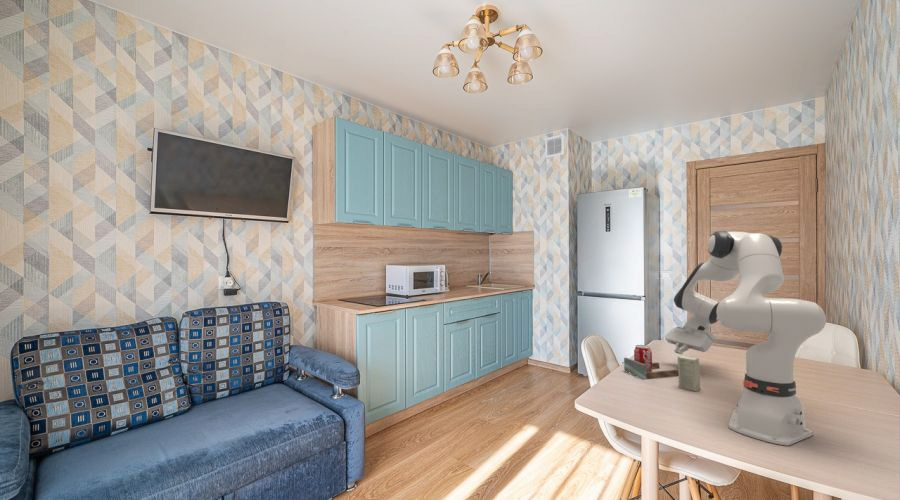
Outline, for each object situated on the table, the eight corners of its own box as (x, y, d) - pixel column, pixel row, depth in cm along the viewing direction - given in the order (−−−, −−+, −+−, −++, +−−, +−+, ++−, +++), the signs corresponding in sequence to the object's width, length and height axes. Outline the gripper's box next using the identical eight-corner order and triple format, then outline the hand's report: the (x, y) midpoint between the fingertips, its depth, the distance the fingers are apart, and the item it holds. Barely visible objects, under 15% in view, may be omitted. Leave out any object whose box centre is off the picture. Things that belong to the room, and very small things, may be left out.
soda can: (654, 373, 163) (654, 346, 163) (648, 377, 158) (648, 349, 158) (637, 369, 168) (637, 343, 168) (631, 373, 163) (631, 346, 163)
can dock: (657, 367, 171) (657, 354, 171) (679, 375, 159) (679, 361, 159) (624, 370, 166) (624, 357, 167) (644, 379, 155) (643, 365, 155)
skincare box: (700, 389, 143) (699, 358, 143) (695, 391, 140) (695, 360, 140) (682, 384, 148) (682, 354, 148) (677, 387, 145) (677, 356, 146)
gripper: (671, 321, 178) (655, 343, 176) (710, 329, 158) (692, 353, 156) (679, 330, 179) (663, 352, 177) (719, 339, 159) (701, 363, 157)
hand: (677, 352), depth 166 cm, fingers closed
